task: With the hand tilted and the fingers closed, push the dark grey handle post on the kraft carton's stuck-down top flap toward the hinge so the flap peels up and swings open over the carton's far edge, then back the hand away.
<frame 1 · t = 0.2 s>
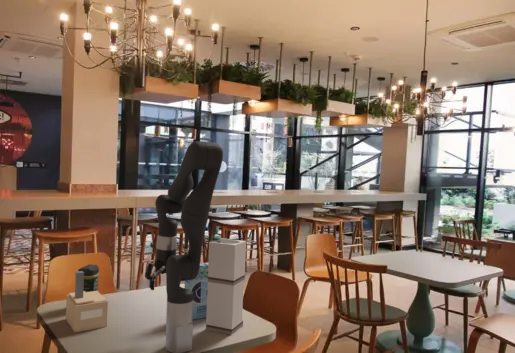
hand: (163, 288, 159), 18 cm above the table, tool pointing down, fingers open, 8 cm apart
white square pillar: (224, 327, 169), on the table
carton: (86, 322, 168), on the table
gum box: (205, 315, 182), on the table
coffee jar: (87, 307, 186), on the table
flap: (81, 285, 166), point 16 cm above the table, hinge at -0.1°
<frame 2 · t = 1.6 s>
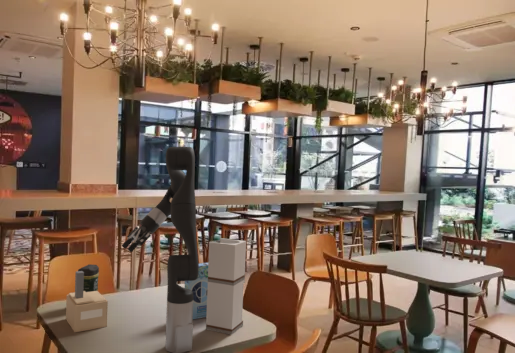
hand: (126, 248, 176), 29 cm above the table, tool tilted 45°, fingers open, 7 cm apart
nothing on the table moved.
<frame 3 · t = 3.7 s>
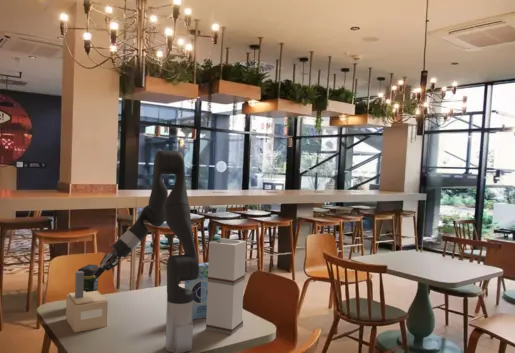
hand: (95, 276, 170), 19 cm above the table, tool tilted 45°, fingers closed
nothing on the table moved.
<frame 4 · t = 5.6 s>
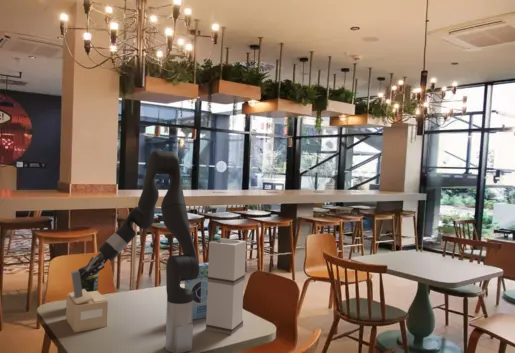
hand: (81, 279, 166), 18 cm above the table, tool tilted 45°, fingers closed
flap: (79, 284, 166), point 16 cm above the table, hinge at 8.5°, touching gripper
everything else where it was.
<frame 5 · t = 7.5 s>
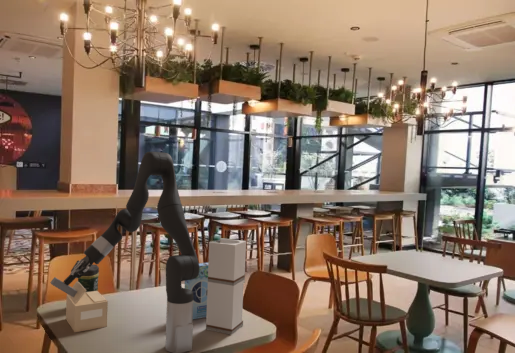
hand: (65, 283, 163), 17 cm above the table, tool tilted 45°, fingers closed
flap: (65, 285, 163), point 16 cm above the table, hinge at 52.2°
everything else where it was.
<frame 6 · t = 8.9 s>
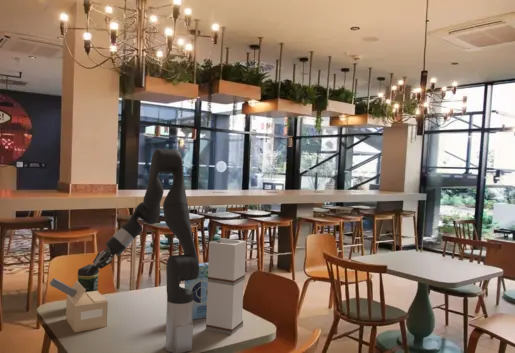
hand: (88, 274, 168), 20 cm above the table, tool tilted 45°, fingers closed
flap: (65, 286, 163), point 16 cm above the table, hinge at 54.5°
everything else where it was.
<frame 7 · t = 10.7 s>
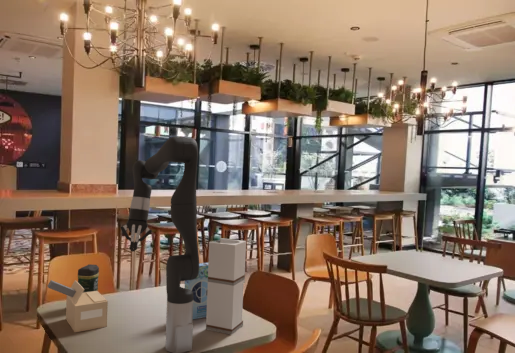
hand: (132, 251, 168), 29 cm above the table, tool pointing down, fingers closed
flap: (63, 287, 163), point 16 cm above the table, hinge at 60.4°
everything else where it was.
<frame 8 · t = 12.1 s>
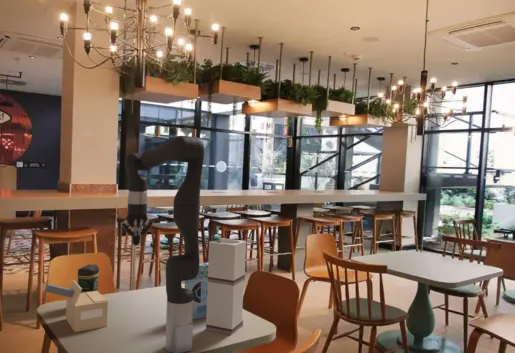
hand: (136, 245, 169), 32 cm above the table, tool pointing down, fingers closed
flap: (61, 288, 162), point 15 cm above the table, hinge at 69.3°
everything else where it was.
at the end: flap at +71° (first picture: +0°); the gripper is holding nothing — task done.
